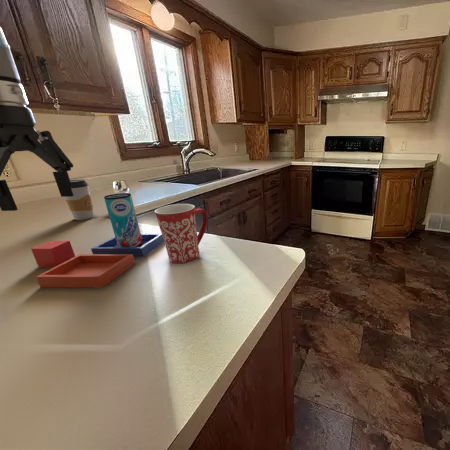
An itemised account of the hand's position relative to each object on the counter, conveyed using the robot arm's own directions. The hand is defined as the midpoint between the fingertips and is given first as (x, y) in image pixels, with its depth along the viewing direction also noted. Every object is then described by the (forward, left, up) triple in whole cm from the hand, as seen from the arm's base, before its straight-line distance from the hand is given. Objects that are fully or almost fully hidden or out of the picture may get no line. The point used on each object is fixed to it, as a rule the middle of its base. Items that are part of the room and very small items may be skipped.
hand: (41, 202), depth 59 cm
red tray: (+14, -7, -15) cm, 22 cm away
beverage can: (+14, +7, -15) cm, 21 cm away
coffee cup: (-26, +37, -16) cm, 48 cm away
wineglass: (-21, +54, -16) cm, 60 cm away
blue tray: (+14, +7, -15) cm, 22 cm away
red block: (0, -1, -15) cm, 15 cm away
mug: (+33, +3, -16) cm, 36 cm away
